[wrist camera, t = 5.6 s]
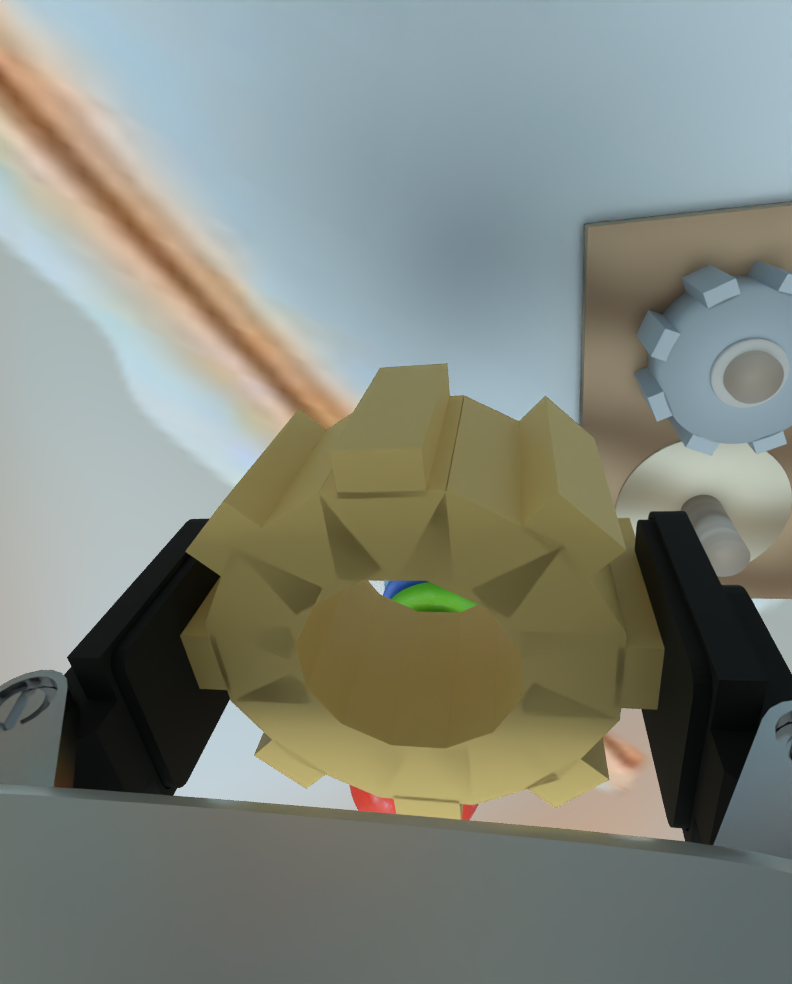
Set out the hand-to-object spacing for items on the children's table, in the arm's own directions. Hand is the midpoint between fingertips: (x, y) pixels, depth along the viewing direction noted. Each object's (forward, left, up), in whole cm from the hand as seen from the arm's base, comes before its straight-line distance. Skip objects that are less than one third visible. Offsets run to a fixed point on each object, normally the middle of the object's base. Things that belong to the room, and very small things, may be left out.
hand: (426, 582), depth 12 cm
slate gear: (+2, +11, -20) cm, 23 cm away
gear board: (+6, +11, -22) cm, 25 cm away
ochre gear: (0, 0, -1) cm, 1 cm away
